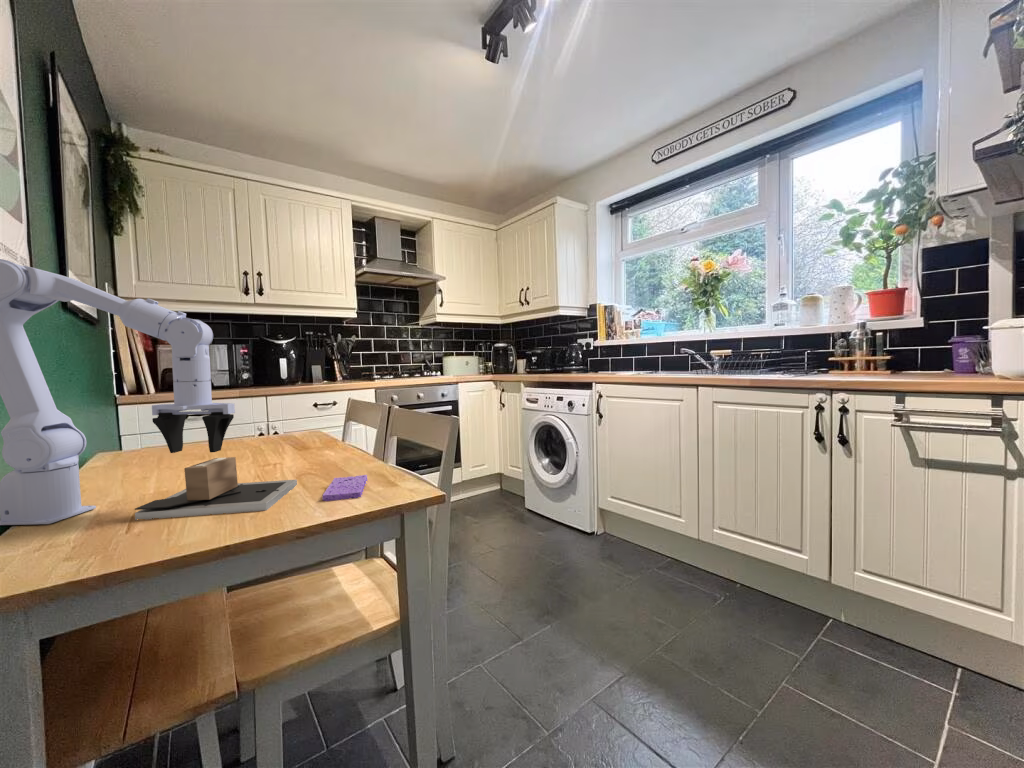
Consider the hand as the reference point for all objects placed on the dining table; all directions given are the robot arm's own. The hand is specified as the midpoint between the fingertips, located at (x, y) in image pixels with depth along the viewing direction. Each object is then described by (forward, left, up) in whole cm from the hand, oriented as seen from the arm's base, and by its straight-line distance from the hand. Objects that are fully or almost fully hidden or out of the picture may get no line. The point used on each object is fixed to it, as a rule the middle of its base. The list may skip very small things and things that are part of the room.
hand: (195, 451), depth 79 cm
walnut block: (+4, -1, -8) cm, 9 cm away
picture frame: (+5, 0, -11) cm, 12 cm away
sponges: (+27, +5, -11) cm, 29 cm away
